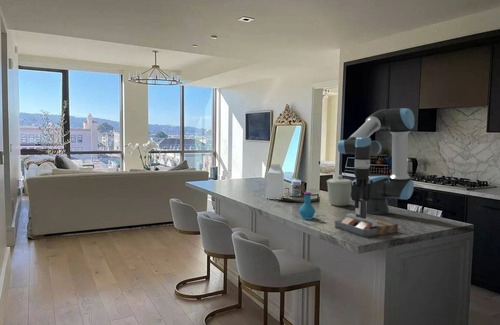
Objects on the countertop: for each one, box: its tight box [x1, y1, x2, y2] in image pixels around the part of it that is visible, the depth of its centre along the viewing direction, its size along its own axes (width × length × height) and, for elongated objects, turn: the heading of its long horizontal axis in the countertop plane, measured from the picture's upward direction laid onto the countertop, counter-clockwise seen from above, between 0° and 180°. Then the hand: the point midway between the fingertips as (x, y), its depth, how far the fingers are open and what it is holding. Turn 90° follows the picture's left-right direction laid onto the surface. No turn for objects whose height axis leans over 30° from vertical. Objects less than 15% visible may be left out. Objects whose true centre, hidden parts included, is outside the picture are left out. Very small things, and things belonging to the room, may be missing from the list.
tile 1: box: [342, 217, 355, 226], centre depth 196 cm, size 5×5×2 cm
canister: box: [326, 174, 352, 207], centre depth 262 cm, size 18×18×21 cm
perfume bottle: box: [298, 191, 316, 220], centre depth 220 cm, size 9×9×15 cm
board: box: [353, 215, 399, 236], centre depth 198 cm, size 15×20×4 cm
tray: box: [334, 219, 378, 238], centre depth 192 cm, size 8×21×4 cm, turn 29°
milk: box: [264, 163, 285, 200], centre depth 284 cm, size 12×12×26 cm
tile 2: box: [356, 221, 371, 230], centre depth 187 cm, size 5×5×2 cm
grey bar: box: [345, 198, 377, 227], centre depth 193 cm, size 3×18×12 cm, turn 29°
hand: (360, 213), depth 193 cm, fingers closed on grey bar, 3 cm apart
